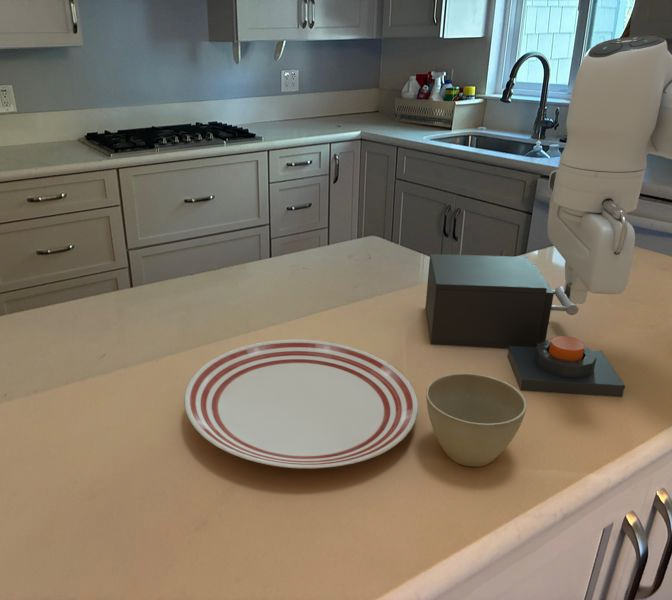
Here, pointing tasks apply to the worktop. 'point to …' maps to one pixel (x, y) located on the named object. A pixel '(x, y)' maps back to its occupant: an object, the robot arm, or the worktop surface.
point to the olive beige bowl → (474, 416)
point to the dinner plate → (301, 404)
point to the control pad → (564, 372)
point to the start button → (566, 348)
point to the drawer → (548, 306)
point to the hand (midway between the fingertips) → (573, 299)
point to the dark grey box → (483, 301)
